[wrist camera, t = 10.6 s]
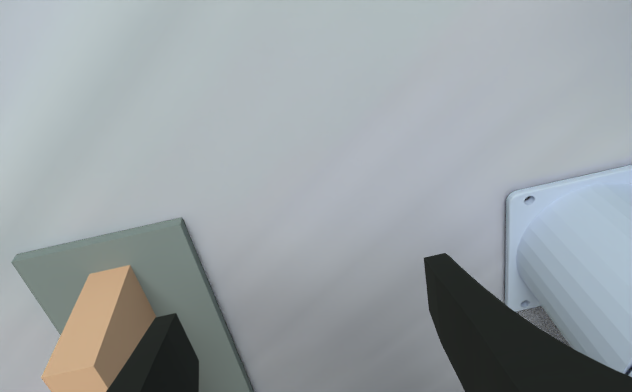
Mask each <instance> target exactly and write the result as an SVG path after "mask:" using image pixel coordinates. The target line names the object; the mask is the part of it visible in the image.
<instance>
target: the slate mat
mask: <svg viewBox="0 0 632 392" xmlns="http://www.w3.org/2000/svg"><path fill="white" fill-rule="evenodd" d="M12 264H13V265H14V267H15V268H16V270H17V271H18V273H19V274H20V276H21V277H22V279H23V280H24V282H25V283H26V285H27V286H28V288H29V289H30V291H31V292H32V294H33V295H34V297H35V298H36V300H37V301H38V303H39V304H40V305H41V307H42V308H43V310H44V311H45V313H46V314H47V316H48V317H49V319H50V320H51V322H52V323H53V325H54V326H55V328H56V329H57V331H58V332H59V334H60V335H61V334H62V332H63V330H64V327H65V325H66V323H67V321H68V319H69V317H70V314H71V312H72V310H73V308H74V306H75V304H76V302H77V299H78V297H79V295H80V293H81V291H82V289H83V287H84V284H85V282H86V280H87V278H88V276H89V274H92V273H96V272H101V271H105V270H110V269H114V268H119V267H123V266H128V265H130V266H131V268H132V270H133V272H134V274H135V276H136V278H137V280H138V282H139V284H140V285H141V287H142V289H143V291H144V293H145V295H146V297H147V299H148V301H149V303H150V305H151V307H152V309H153V311H154V313H155V315H156V317H160V316H164V315H169V314H173V313H176V314H177V316H178V318H179V320H180V322H181V324H182V326H183V328H184V330H185V332H186V335H187V337H188V339H189V341H190V343H191V345H192V347H193V349H194V351H195V353H196V355H197V358H198V360H199V392H254V391H253V389H252V387H251V384H250V382H249V379H248V377H247V374H246V372H245V370H244V367H243V365H242V362H241V360H240V357H239V355H238V353H237V350H236V348H235V345H234V343H233V340H232V338H231V336H230V333H229V331H228V328H227V326H226V323H225V321H224V319H223V316H222V314H221V311H220V309H219V306H218V304H217V302H216V299H215V297H214V294H213V292H212V289H211V287H210V285H209V282H208V280H207V277H206V275H205V272H204V270H203V268H202V265H201V263H200V260H199V258H198V256H197V253H196V251H195V248H194V246H193V243H192V241H191V239H190V236H189V234H188V231H187V229H186V226H185V224H184V222H183V219H182V218H177V219H173V220H168V221H164V222H159V223H155V224H151V225H146V226H142V227H137V228H133V229H128V230H124V231H119V232H115V233H110V234H106V235H101V236H97V237H93V238H88V239H84V240H79V241H75V242H70V243H66V244H61V245H57V246H52V247H48V248H43V249H39V250H34V251H30V252H26V253H21V254H17V255H16V256H15V258H14V259H13V261H12Z"/></svg>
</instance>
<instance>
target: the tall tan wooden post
mask: <svg viewBox="0 0 632 392" xmlns="http://www.w3.org/2000/svg"><path fill="white" fill-rule="evenodd" d="M155 317H156V315H155V313H154V311H153V309H152V307H151V305H150V303H149V301H148V299H147V297H146V295H145V293H144V291H143V289H142V287H141V285H140V284H139V282H138V280H137V278H136V276H135V274H134V272H133V270H132V268H131V266H130V265H128V266H123V267H119V268H114V269H110V270H105V271H101V272H96V273H92V274H89V276H88V278H87V280H86V282H85V284H84V287H83V289H82V291H81V293H80V295H79V297H78V299H77V302H76V304H75V306H74V308H73V310H72V312H71V314H70V317H69V319H68V321H67V323H66V325H65V327H64V330H63V332H62V334H61V336H60V338H59V340H58V342H57V345H56V347H55V349H54V351H53V353H52V355H51V358H50V360H49V362H48V364H47V366H46V368H45V370H44V373H43V375H42V377H41V378H42V380H43V381H44V382H45V384H46V385H47V386H48V388H49V389H50V390H51V392H106V391H107V389H108V388H109V387H110V385H111V384H112V383H113V381H114V380H115V378H116V377H117V375H118V374H119V372H120V371H121V369H122V368H123V366H124V365H125V363H126V362H127V360H128V359H129V357H130V356H131V354H132V353H133V351H134V349H135V348H136V346H137V345H138V343H139V342H140V340H141V339H142V337H143V336H144V334H145V332H146V331H147V329H148V328H149V326H150V325H151V323H152V322H153V320H154V319H155Z"/></svg>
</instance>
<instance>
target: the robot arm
mask: <svg viewBox="0 0 632 392" xmlns="http://www.w3.org/2000/svg"><path fill="white" fill-rule="evenodd" d="M528 196H531V197H530V198H529V199H528V200H526V201H524V200H525V199H526V198H527V197H528ZM424 264H425V274H426V284H427V294H428V304H429V311H430V314H431V317H432V319H433V322H434V325H435V328H436V331H437V333H438V336H439V339H440V341H441V344H442V346H443V348H444V350H445V352H446V354H447V356H448V358H449V360H450V362H451V364H452V366H453V368H454V370H455V372H456V374H457V376H458V378H459V380H460V382H461V384H462V386H463V388H464V390H465V392H632V165H628V166H624V167H620V168H615V169H611V170H606V171H602V172H597V173H593V174H588V175H584V176H579V177H575V178H570V179H566V180H561V181H557V182H552V183H548V184H543V185H539V186H534V187H530V188H525V189H521V190H516V191H514V192H512V193H511V194H509V196H508V197H507V200H506V269H505V304H504V303H503V302H501V301H500V300H499V299H498V298H496V297H495V296H494V295H493V294H491V293H490V292H489V291H488V290H486V289H485V288H484V287H483V286H482V285H480V284H479V283H478V282H477V281H476V280H475V279H474V278H472V277H471V276H470V275H469V274H468V273H467V272H466V271H465V270H464V269H462V268H461V267H460V266H459V265H458V264H457V263H456V262H455V261H454V260H453V259H452V258H451V257H450V256H449V255H447V254H446V253H444V254H439V255H435V256H430V257H426V258H424ZM523 301H524V302H523ZM539 306H542V307H543V309H544V310H545V311H546V313H547V314H548V316H549V317H550V318H551V320H552V321H553V322H554V324H555V325H556V327H557V328H558V329H559V331H560V332H561V334H562V335H563V336H564V338H565V339H566V340H567V342H568V343H569V345H570V346H571V347H572V348H571V347H569V346H567V345H566V344H564V343H562V342H560V341H559V340H557V339H555V338H554V337H552V336H550V335H549V334H547V333H546V332H544V331H542V330H541V329H539V328H538V327H536V326H535V325H533V324H532V323H530V322H529V321H527V320H526V319H524V318H523V317H522V316H520V315H519V314H517V313H516V311H521V310H525V309H530V308H534V307H539ZM106 392H199V360H198V358H197V355H196V353H195V351H194V349H193V347H192V345H191V343H190V341H189V339H188V337H187V335H186V332H185V330H184V328H183V326H182V324H181V322H180V320H179V318H178V316H177V314H176V313H173V314H169V315H164V316H160V317H155V319H154V320H153V322H152V323H151V325H150V326H149V328H148V329H147V331H146V332H145V334H144V336H143V337H142V339H141V340H140V342H139V343H138V345H137V346H136V348H135V349H134V351H133V353H132V354H131V356H130V357H129V359H128V360H127V362H126V363H125V365H124V366H123V368H122V369H121V371H120V372H119V374H118V375H117V377H116V378H115V380H114V381H113V383H112V384H111V385H110V387H109V388H108V389H107V391H106Z"/></svg>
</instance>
